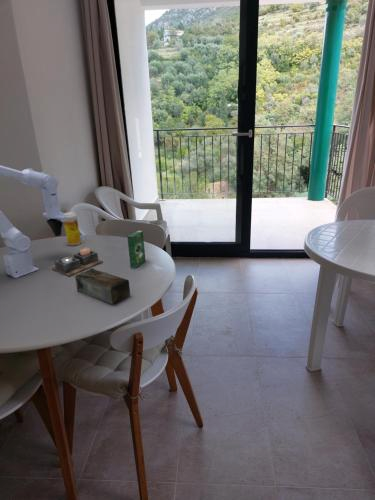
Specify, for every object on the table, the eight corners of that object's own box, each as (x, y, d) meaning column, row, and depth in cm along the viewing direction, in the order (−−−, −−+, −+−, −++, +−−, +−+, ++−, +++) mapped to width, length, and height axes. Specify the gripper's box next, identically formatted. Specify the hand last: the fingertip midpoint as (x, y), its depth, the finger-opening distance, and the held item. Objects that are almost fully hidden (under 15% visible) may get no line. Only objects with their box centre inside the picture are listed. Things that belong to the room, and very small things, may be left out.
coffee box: (140, 259, 140) (137, 229, 136) (146, 260, 139) (143, 230, 135) (130, 267, 134) (126, 236, 129) (136, 268, 133) (132, 236, 128)
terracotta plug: (84, 259, 137) (83, 251, 136) (78, 257, 139) (77, 249, 138) (92, 256, 140) (91, 248, 138) (87, 254, 142) (85, 246, 141)
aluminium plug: (66, 270, 131) (65, 261, 130) (61, 267, 134) (59, 259, 132) (75, 266, 134) (74, 258, 133) (69, 264, 136) (68, 256, 135)
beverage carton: (95, 282, 124) (92, 265, 121) (132, 296, 113) (129, 278, 110) (76, 291, 118) (73, 273, 115) (113, 306, 107) (111, 288, 104)
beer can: (78, 245, 160) (73, 215, 154) (66, 246, 160) (60, 215, 154) (82, 241, 165) (77, 211, 160) (70, 241, 165) (65, 212, 160)
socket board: (69, 277, 128) (67, 267, 127) (52, 269, 135) (50, 260, 134) (103, 262, 139) (101, 253, 138) (85, 256, 147) (84, 247, 145)
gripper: (70, 204, 137) (76, 235, 142) (51, 200, 146) (57, 230, 151) (54, 208, 132) (61, 240, 137) (35, 203, 141) (42, 234, 146)
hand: (58, 235), depth 144 cm, fingers closed
